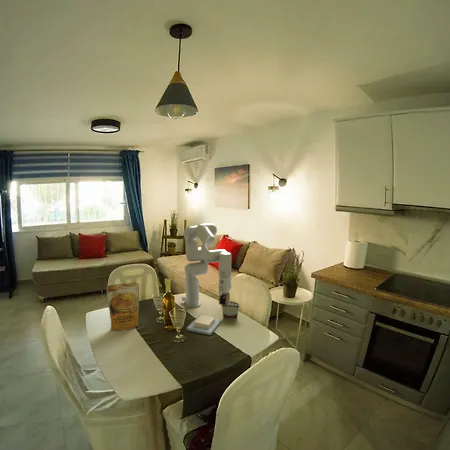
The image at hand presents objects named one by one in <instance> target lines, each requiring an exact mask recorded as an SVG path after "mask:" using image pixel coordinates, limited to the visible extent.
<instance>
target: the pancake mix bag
mask: <svg viewBox="0 0 450 450" xmlns="http://www.w3.org/2000/svg"><path fill="white" fill-rule="evenodd" d="M105 290H106V291H105V292H106V296H107V304H108V310H109V318H110V331H114V330H119V331H123V329H126V330H130V329H129V328H132V329H135V328H137V327H139V321H138V320H139V308H140V307H139V306H140V285H139V283H137V282H128V283H127V282H126V283H118V284H112V285H111V284H110V285H108V286H106V287H105ZM136 326H137V327H136Z"/></svg>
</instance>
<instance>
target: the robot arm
mask: <svg viewBox="0 0 450 450" xmlns="http://www.w3.org/2000/svg"><path fill="white" fill-rule="evenodd" d="M217 230H218V229H217V226H216V225H215V224H214V223H212V222H211V223H210V222H209V223H200V224H198V225H190V226H186V227H185V228H184V230H183V237H184V240H185V252H186V253H185V255H186V260H187V261H188V262H190V263H187V264H186V265H185V266H184V273H185V296H182V297H181V301H183V306H184V307H186V308H188V309H189V308H190V309H191V308H195V309H196V308H198V307H200V306H201V305H202V302H201V301H200V282H199V279H198V277H197V276H201V275H206V274H207V273H208V271H209V270H208V269H209V264H215V263H218V293H219V294H218V296H219V295H220V304H225V294H227V293H230V291H231V290H232V257H233V256H232V253H231V252H230V251H229V252H228V251H227V250H226V249H224V248H222V249H220V248H219V249H211V250H209V247H211V246H212V245H213V244H214V243H215V242H216V237H215V235H216V234H217ZM197 239H199V240H200V242H201V243H202V244H201V247H200V246H199V242H198V240H197ZM222 294H224V295H222ZM220 304H219V305H220Z"/></svg>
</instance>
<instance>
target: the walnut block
mask: <svg viewBox="0 0 450 450" xmlns="http://www.w3.org/2000/svg"><path fill="white" fill-rule="evenodd" d="M222 295H224V294H222ZM230 298H231V293H230V292H229V293H227V294H225V304H220V295H219V294H218V305H220V306H221V305H226V306H227V305H228V304H229V303H230V301H231V299H230Z"/></svg>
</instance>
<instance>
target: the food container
mask: <svg viewBox="0 0 450 450" xmlns="http://www.w3.org/2000/svg"><path fill="white" fill-rule="evenodd" d="M220 306H221V307H220V308H221V309H222V311H221V312H222V320H224V319H225V320H226V319H227V320H238V316H239V315H238V314H239V309H240V305H239V303H238V302H236V301H231V300H230V303H229V304H228V305H227V306H226V305H220Z"/></svg>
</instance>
